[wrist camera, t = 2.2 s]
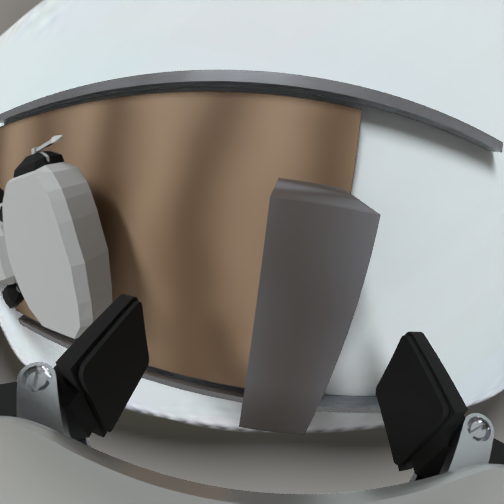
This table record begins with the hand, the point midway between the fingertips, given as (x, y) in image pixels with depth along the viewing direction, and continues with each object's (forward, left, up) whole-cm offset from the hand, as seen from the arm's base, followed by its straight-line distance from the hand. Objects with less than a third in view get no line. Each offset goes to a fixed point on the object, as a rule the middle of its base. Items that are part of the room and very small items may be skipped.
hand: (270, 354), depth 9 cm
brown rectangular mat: (+11, 0, -6) cm, 13 cm away
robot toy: (+16, 0, -6) cm, 17 cm away
